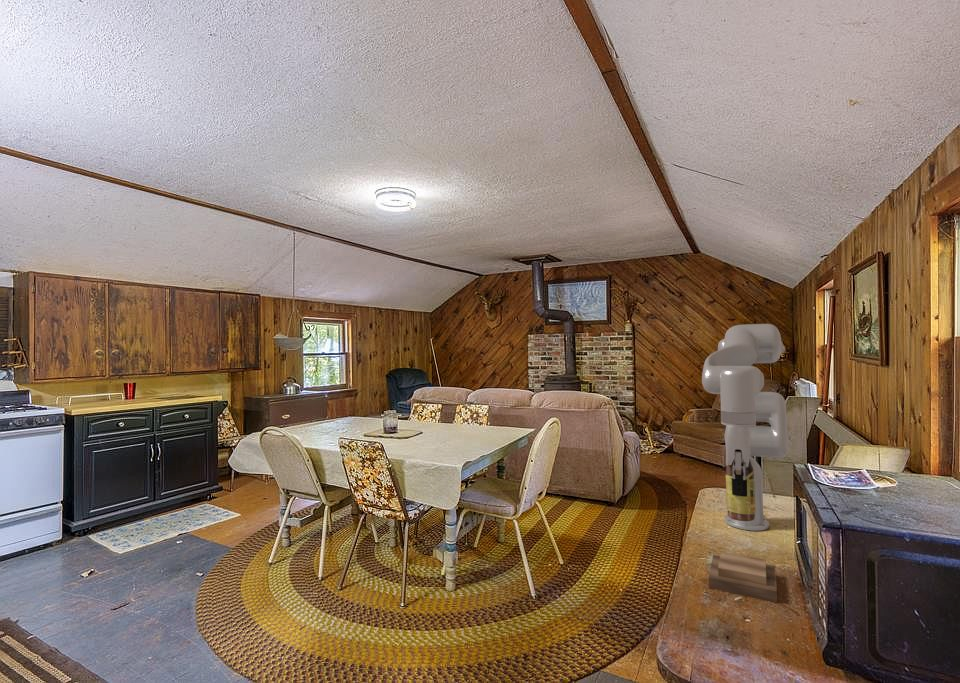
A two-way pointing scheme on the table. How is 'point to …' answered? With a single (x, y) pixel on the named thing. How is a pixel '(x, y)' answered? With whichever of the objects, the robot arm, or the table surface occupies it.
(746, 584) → the pedestal
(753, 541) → the table surface
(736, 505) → the sauce bottle
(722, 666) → the table surface
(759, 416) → the robot arm
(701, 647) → the table surface
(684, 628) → the table surface
